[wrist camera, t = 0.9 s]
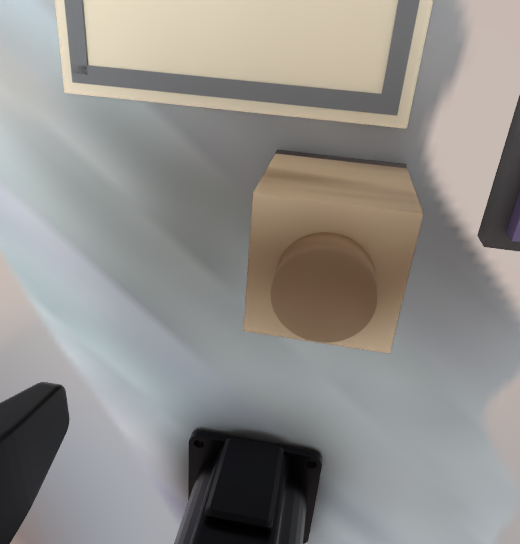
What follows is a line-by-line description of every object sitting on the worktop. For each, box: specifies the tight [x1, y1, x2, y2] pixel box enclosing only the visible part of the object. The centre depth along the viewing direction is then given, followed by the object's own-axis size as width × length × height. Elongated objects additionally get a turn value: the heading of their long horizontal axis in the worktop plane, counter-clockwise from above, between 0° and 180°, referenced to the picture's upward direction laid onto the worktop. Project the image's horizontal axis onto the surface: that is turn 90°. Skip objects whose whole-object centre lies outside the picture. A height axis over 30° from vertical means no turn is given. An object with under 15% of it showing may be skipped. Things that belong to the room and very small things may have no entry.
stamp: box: [244, 150, 423, 354], centre depth 16 cm, size 4×4×6 cm
